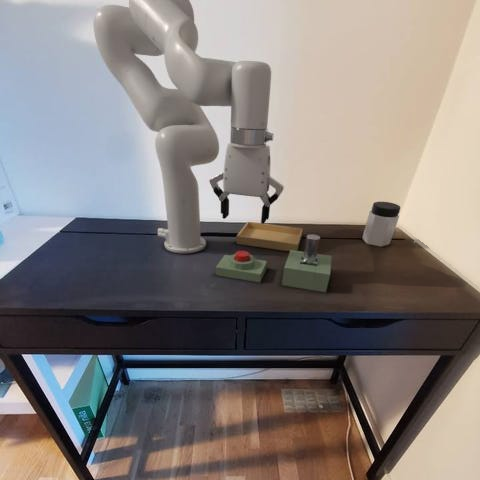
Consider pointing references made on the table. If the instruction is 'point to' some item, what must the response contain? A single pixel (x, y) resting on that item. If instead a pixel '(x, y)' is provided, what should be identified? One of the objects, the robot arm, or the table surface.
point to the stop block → (241, 268)
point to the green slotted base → (307, 272)
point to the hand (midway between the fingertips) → (244, 219)
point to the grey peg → (311, 250)
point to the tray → (270, 236)
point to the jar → (381, 223)
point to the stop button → (242, 256)
